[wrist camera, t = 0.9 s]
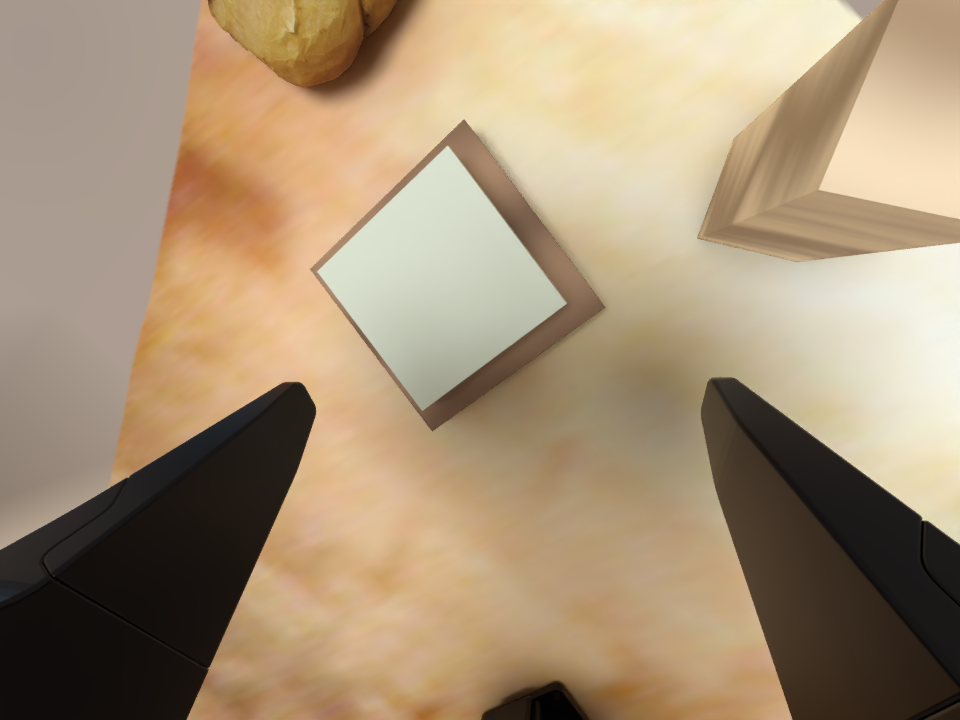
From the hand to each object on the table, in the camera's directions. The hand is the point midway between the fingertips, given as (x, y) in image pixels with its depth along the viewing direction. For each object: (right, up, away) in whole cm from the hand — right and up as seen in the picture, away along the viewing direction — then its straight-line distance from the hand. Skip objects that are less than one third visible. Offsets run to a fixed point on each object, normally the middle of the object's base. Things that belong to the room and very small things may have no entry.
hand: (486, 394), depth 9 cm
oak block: (+13, +8, +10) cm, 18 cm away
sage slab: (-2, +4, +12) cm, 12 cm away
